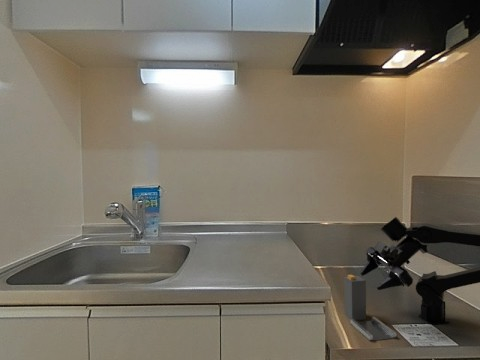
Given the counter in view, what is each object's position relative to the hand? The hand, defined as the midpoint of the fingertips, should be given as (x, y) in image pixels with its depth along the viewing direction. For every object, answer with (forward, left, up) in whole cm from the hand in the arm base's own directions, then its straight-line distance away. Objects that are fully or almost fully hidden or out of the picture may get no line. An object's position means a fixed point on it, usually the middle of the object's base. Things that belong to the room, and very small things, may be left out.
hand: (369, 281), depth 109 cm
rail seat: (+5, +9, -12) cm, 16 cm away
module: (+5, -1, -12) cm, 13 cm away
